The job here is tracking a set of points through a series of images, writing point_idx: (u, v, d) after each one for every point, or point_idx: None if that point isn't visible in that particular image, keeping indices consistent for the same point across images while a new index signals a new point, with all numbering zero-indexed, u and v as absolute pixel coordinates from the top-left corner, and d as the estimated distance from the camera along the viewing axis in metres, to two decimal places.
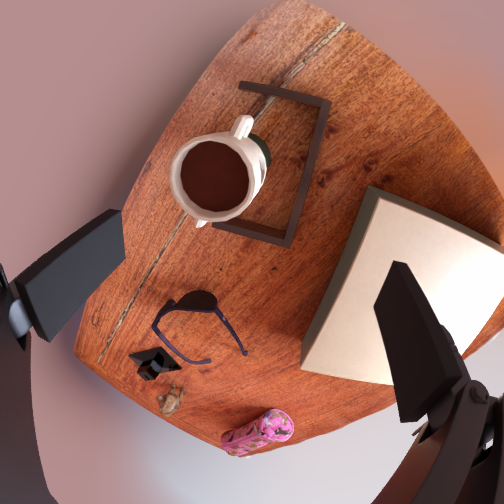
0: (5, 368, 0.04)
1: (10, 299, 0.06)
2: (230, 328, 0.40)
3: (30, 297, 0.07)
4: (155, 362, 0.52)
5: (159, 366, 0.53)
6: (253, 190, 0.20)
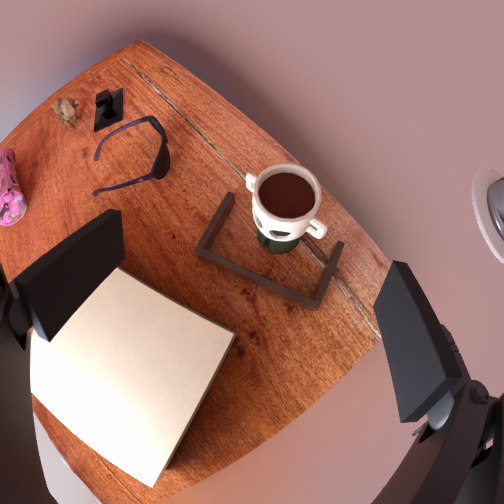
0: (5, 368, 0.04)
1: (10, 299, 0.06)
2: (129, 183, 0.38)
3: (30, 297, 0.07)
4: (109, 109, 0.47)
5: (104, 111, 0.47)
6: (274, 219, 0.26)
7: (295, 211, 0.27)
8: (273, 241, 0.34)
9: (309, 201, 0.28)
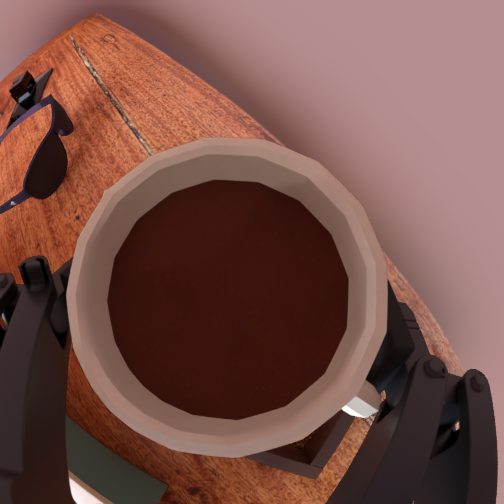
0: (42, 370, 0.05)
1: (54, 296, 0.07)
2: (1, 209, 0.17)
3: None
4: (26, 97, 0.25)
5: (20, 100, 0.25)
6: (141, 431, 0.04)
7: (256, 368, 0.06)
8: None
9: (323, 316, 0.06)
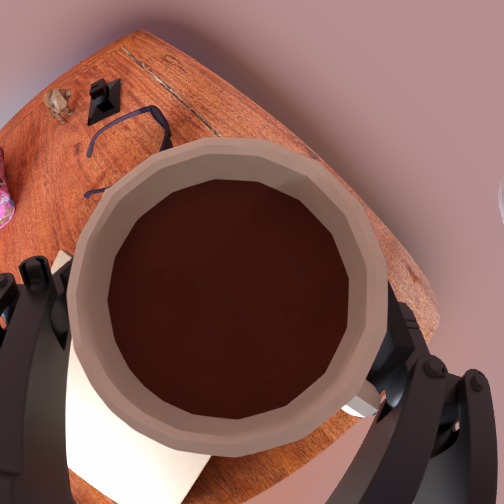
0: (42, 370, 0.05)
1: (54, 296, 0.07)
2: None
3: None
4: (104, 100, 0.40)
5: (99, 103, 0.40)
6: (141, 430, 0.04)
7: (256, 368, 0.06)
8: None
9: (324, 316, 0.06)
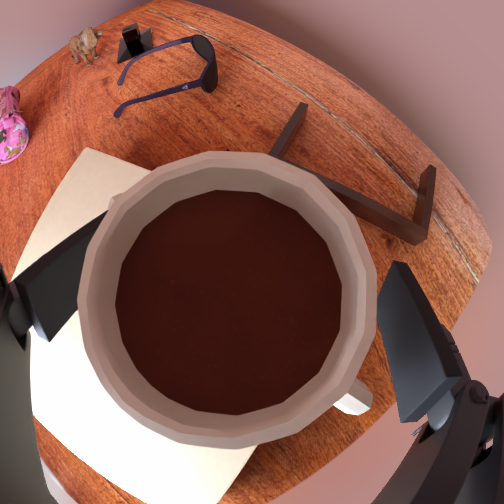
0: (5, 368, 0.04)
1: (10, 299, 0.06)
2: (169, 91, 0.28)
3: (30, 297, 0.07)
4: (136, 42, 0.36)
5: (130, 44, 0.36)
6: (148, 425, 0.05)
7: (255, 367, 0.06)
8: None
9: (318, 319, 0.07)
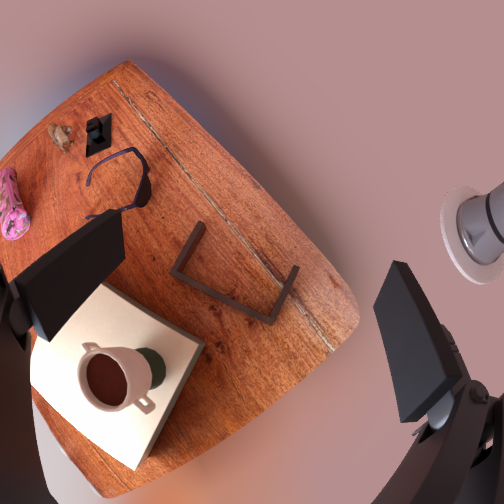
0: (5, 368, 0.04)
1: (10, 299, 0.06)
2: None
3: (30, 297, 0.07)
4: (98, 136, 0.52)
5: (94, 138, 0.52)
6: (92, 405, 0.21)
7: (115, 396, 0.23)
8: None
9: (127, 388, 0.23)
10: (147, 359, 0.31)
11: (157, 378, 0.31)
